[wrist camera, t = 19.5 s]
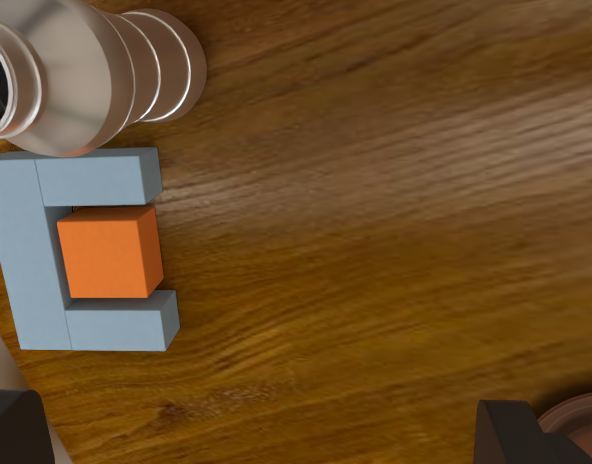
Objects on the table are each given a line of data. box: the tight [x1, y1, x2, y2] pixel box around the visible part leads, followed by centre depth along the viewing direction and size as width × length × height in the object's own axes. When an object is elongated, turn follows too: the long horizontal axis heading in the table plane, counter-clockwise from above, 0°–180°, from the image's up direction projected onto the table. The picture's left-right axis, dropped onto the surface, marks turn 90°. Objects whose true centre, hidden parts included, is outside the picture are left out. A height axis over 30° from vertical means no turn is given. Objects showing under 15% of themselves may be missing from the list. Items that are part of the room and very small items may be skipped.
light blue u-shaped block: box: [0, 147, 180, 351], centre depth 38 cm, size 14×11×4 cm
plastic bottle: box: [0, 0, 207, 158], centre depth 26 cm, size 6×7×20 cm
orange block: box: [57, 207, 164, 298], centre depth 38 cm, size 6×6×4 cm
